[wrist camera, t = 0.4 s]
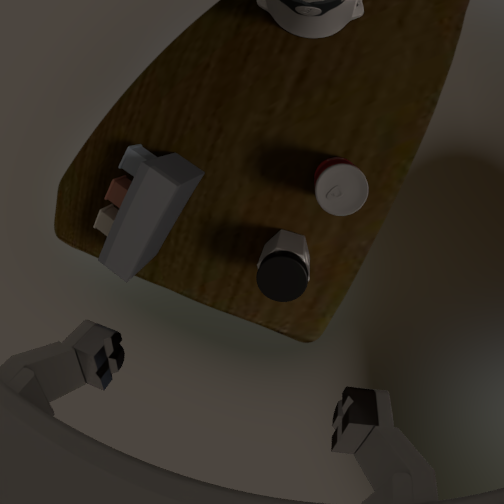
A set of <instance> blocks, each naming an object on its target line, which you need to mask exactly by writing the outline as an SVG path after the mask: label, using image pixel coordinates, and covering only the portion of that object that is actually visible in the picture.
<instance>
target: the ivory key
mask: <svg viewBox="0 0 504 504" xmlns="http://www.w3.org/2000/svg"><path fill="white" fill-rule="evenodd" d="M118 211H119V210H118V209H116V208H115V207H114V205H113V204H110V205H108V206H106V207H104V208H102V209H100V211H99V213H98V216H97V218H96V221H95V224H94V226H93V227H94V228H97V229H98V230H100V231H101V232H102V233H103V234H105V235H106V236H108V234H109V231H110V229H111V227H112V224H113V222H114V220H115V217H116V215H117V213H118Z"/></svg>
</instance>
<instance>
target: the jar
mask: <svg viewBox="0 0 504 504" xmlns="http://www.w3.org/2000/svg"><path fill="white" fill-rule="evenodd" d="M257 267H258V272H257V284H258V287H259V289H260V290H261V292H262V293H263V294H264V295H265V296H267V297H268V298H270V299H272V300H275V301H279V302H287V301H292V300H294V299H296V298H298V297H299V296H301V295H302V294H303V292H304V291H305V289H306V287H307V284H308V281H309V280H310V255H309V251H308V247H307V243H306V239H305V236H303V235H300V234H296V233H293V232H289V231H286V230H282V229H281V230H280V231H279V232H278V233H277V234H276V235H275V236H273V237H272V238H271V239H270V240H269V241H268V242H267V243H266V244H265V245H264V248H263V250H262V253H261V256H260V258H259V261H258V264H257Z"/></svg>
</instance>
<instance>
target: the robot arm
mask: <svg viewBox="0 0 504 504" xmlns="http://www.w3.org/2000/svg"><path fill="white" fill-rule="evenodd" d="M257 4H258V6H259V7H261V8H262V9H264V10H266V11H268V12H269V13H270V14H271V15H272V17H273V18H274V19H275V21H276V22H277V23H278V24H279V25H280V26H281V27H282V28H283V29H285V30H286V31H288V32H290V33H292V34H295V35H297V36H301V37H306V38H322V37H327V36H330V35H332V34H335V33H336V32H338V31H340V30H341V29H342V28H343V27H344V26H345V25H346V24H347V23H348V22H349V21H351V20H353V19H356V18H359V17H361V16H362V15H363V13H364V8H363V3H362V0H257ZM356 5H358V6H356ZM121 341H122V337H121V334H120V333H119V332H118V331H115V330H113V329H110V328H107V327H105V326H102V325H100V324H97V323H94V322H92V321H90V320H85V321H83V322H82V323H81V324H80V325H79V326H78V327H77V328H76V329H75V330H74V331H73V332H72V333H71V334H70V335H69V336H68V337H67V338H66V339H65V340H64V341H63V342H62V343H61V342H56V343H53V344H49V345H46V346H43V347H40V348H36V349H33V350H30V351H27V352H24V353H20V354H17V355H13V356H11V357H10V358H9V359H8V360H7V361H6V362H5V363H4V364H3V365H2V366H1V367H0V504H324V503H313V502H303V501H295V500H288V499H281V498H274V497H268V496H263V495H257V494H252V493H247V492H243V491H238V490H234V489H230V488H225V487H221V486H218V485H214V484H210V483H206V482H202V481H199V480H196V479H193V478H189V477H186V476H183V475H180V474H177V473H174V472H171V471H168V470H166V469H163V468H160V467H157V466H155V465H152V464H149V463H147V462H144V461H142V460H139V459H137V458H134V457H132V456H130V455H127V454H125V453H123V452H121V451H118V450H116V449H113V448H112V447H110V446H107V445H105V444H103V443H101V442H99V441H97V440H95V439H93V438H91V437H89V436H87V435H85V434H84V433H82V432H80V431H78V430H76V429H74V428H72V427H71V426H69V425H67V424H65V423H63V422H62V421H60V420H58V419H56V418H55V417H53V416H54V411H53V409H52V408H51V406H50V403H49V402H51V401H53V400H55V399H57V398H59V397H62V396H64V395H66V394H68V393H69V392H71V391H73V390H75V389H77V388H79V387H81V386H83V385H85V384H86V383H87V384H90V385H92V386H94V387H97V388H99V389H101V390H105V389H106V387H107V386H108V384H109V383H110V382H111V380H112V374H113V373H115V372H118V371H119V369H120V368H121V366H122V364H123V361H124V354H125V353H124V349H123V347H122V346H121V345H120V342H121ZM332 426H333V427H334V429H335V432H334V434H333V435H332V448H331V451H332V452H339V453H348V454H354V456H355V458H356V460H357V461H358V463H359V465H360V467H361V468H362V470H363V472H364V474H365V475H366V477H367V479H368V481H369V482H370V484H371V486H372V487H373V489H374V491H375V492H374V493H373V494H371V495H370V496H369V497H368V498H367V499H366V500H364V501H363V502H362V504H504V488H501V489H497V490H493V491H488V492H484V493H480V494H475V495H470V496H465V497H459V498H453V499H447V500H440V501H438V492H437V485H436V476H435V470H434V469H433V468H432V467H431V466H430V464H429V463H428V462H427V461H426V460H425V459H424V457H422V455H421V454H420V453H419V452H418V451H417V450H416V448H415V447H414V446H413V445H412V444H411V442H410V441H409V440H408V439H407V438H406V437H405V435H404V434H403V433H402V432H401V431H400V430H399V429H398V428H396V427H394V423H393V416H392V409H391V403H390V396H389V393H388V391H384V390H373V389H364V388H354V387H346V388H345V389H344V391H343V393H342V400H340V401H338V403H337V406H336V408H335V411H334V415H333V424H332Z"/></svg>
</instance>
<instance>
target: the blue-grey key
mask: <svg viewBox="0 0 504 504" xmlns="http://www.w3.org/2000/svg"><path fill="white" fill-rule="evenodd" d="M153 158H157V156H155V155H154V154H152V153H151V152H149V151H148V150H146V149H145V148H143V147H142V145H141V144H138V145H132V146H128V148H127V150H126V152H125V154H124V156H123V158H122V160H121V162H120V164H119V167H118V168H120V169H121V168H122V169H124V170H125V171H127V172H128V173H129V174H131V175H132V176H135V174H136V172H137V170H138V168H139V166H140V164H141V162H142V161H146V160H149V159H153Z"/></svg>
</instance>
